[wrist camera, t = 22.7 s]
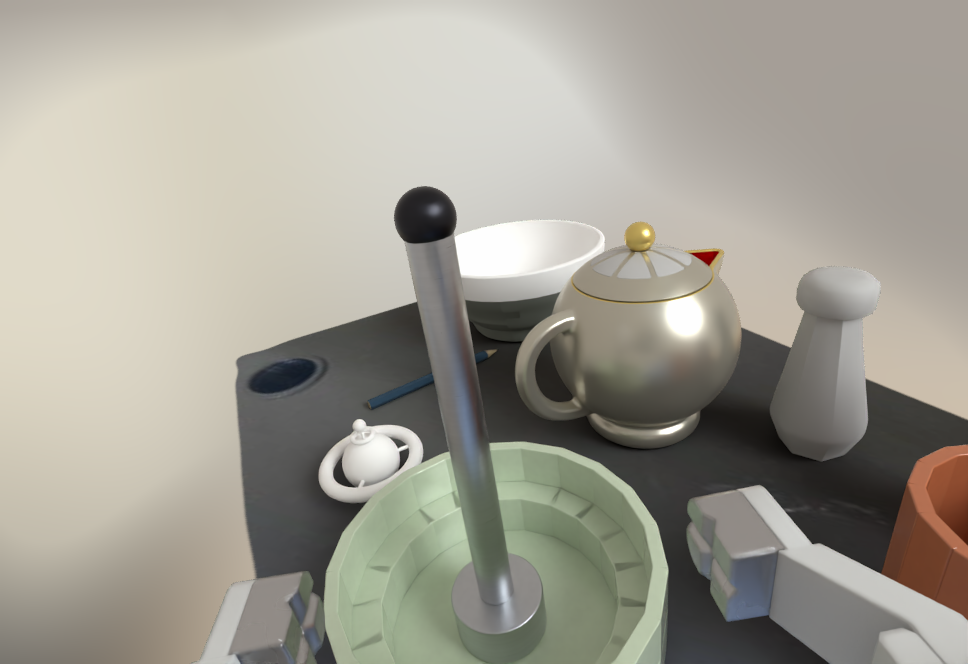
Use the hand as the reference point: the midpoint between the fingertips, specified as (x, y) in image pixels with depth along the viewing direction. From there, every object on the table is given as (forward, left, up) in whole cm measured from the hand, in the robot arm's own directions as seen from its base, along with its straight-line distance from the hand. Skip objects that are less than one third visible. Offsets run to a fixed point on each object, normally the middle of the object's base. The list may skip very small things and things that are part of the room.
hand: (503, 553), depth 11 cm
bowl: (+45, +18, -18) cm, 52 cm away
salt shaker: (+29, -10, -18) cm, 36 cm away
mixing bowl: (+9, +6, -18) cm, 21 cm away
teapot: (+28, +3, -18) cm, 33 cm away
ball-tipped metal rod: (+9, +6, -17) cm, 20 cm away
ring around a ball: (+17, +20, -18) cm, 32 cm away
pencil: (+32, +22, -18) cm, 43 cm away
